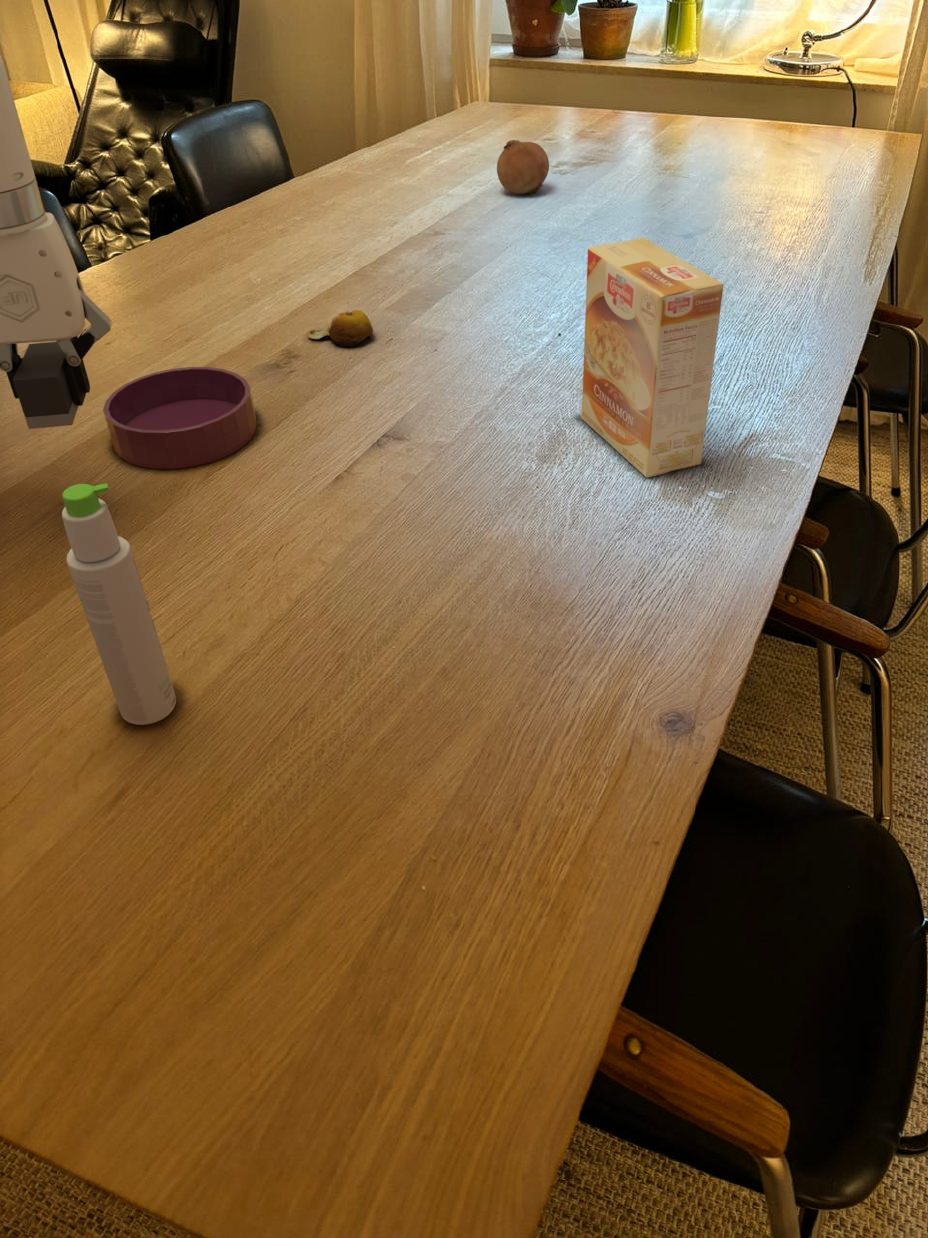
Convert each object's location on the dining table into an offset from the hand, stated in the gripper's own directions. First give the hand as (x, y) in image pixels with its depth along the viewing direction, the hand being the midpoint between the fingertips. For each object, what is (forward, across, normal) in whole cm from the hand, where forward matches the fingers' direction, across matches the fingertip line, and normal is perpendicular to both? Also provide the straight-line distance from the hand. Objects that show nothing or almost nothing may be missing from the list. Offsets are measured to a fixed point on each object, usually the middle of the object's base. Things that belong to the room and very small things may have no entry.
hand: (55, 399), depth 96 cm
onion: (+12, +65, +95) cm, 115 cm away
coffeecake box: (+11, +59, 0) cm, 60 cm away
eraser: (+1, 0, 0) cm, 1 cm away
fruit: (+12, +29, +37) cm, 49 cm away
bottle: (+11, +10, -33) cm, 36 cm away
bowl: (+12, +9, +13) cm, 20 cm away
